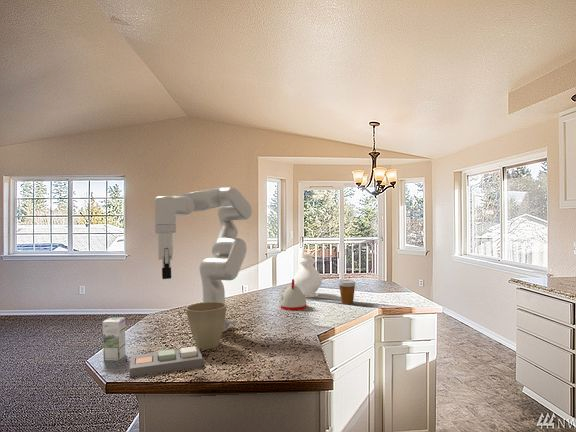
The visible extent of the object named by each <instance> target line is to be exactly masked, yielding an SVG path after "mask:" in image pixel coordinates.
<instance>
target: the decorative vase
mask: <svg viewBox="0 0 576 432" xmlns="http://www.w3.org/2000/svg"><path fill="white" fill-rule="evenodd" d="M300 256H301V258H300V260H299V263H300V265H301V267H300V268H299V269H298V270H297V271H296V272H295V274H294V277H293V279H294V285H295V286H297V287H298V288H299V289H300V290H301V291H302V293H303V294H305V298H315V297H318V296H319V293H318V292H317V291H318V290H319V289H320V287H321V285H322V284H323V278H322V275H321V273H320V272H319V270H317V269H316V268H315V267H314V266H313V265H314V264H315V263H316V259H315V258H313V257H314V254H311V253H310V254H305V253H304V254H301V255H300Z"/></svg>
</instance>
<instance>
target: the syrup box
mask: <svg viewBox="0 0 576 432" xmlns="http://www.w3.org/2000/svg"><path fill="white" fill-rule="evenodd" d="M102 348H103V349H102V350H103V351H102V352H103V361H104V360H113V361H121V360H122V359H123V358H124V357H125V356H126V355H127V350H126V317H108V318H106V319H104V320H103V321H102ZM120 359H121V360H120Z"/></svg>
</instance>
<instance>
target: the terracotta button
mask: <svg viewBox="0 0 576 432" xmlns="http://www.w3.org/2000/svg"><path fill="white" fill-rule="evenodd" d="M148 362H152V356H151V357H143V358H136V363H135V364H141V363H148Z"/></svg>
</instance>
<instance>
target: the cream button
mask: <svg viewBox="0 0 576 432" xmlns="http://www.w3.org/2000/svg"><path fill="white" fill-rule="evenodd" d="M196 347H197V346H187V347H180V348H179V349H180V356H181V358H185V357H192V356H197V350H196Z"/></svg>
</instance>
